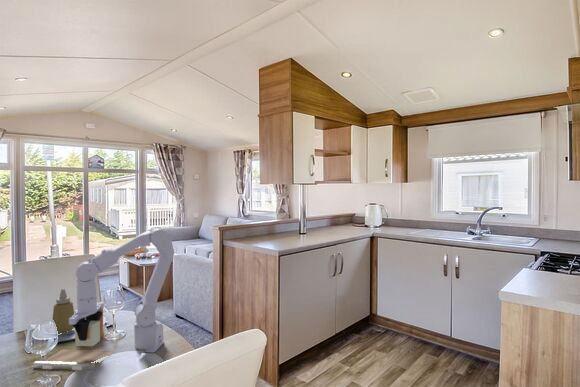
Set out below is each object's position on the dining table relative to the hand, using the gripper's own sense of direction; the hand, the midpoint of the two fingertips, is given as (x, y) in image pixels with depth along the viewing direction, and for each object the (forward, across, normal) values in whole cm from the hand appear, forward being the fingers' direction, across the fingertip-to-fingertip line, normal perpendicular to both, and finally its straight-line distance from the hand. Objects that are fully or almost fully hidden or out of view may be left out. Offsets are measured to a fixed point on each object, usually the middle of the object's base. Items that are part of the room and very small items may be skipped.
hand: (87, 337), depth 113 cm
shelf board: (+8, +1, -3) cm, 9 cm away
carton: (+2, 0, 0) cm, 2 cm away
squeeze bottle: (+8, -20, -25) cm, 33 cm away
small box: (+8, -16, -10) cm, 21 cm away
